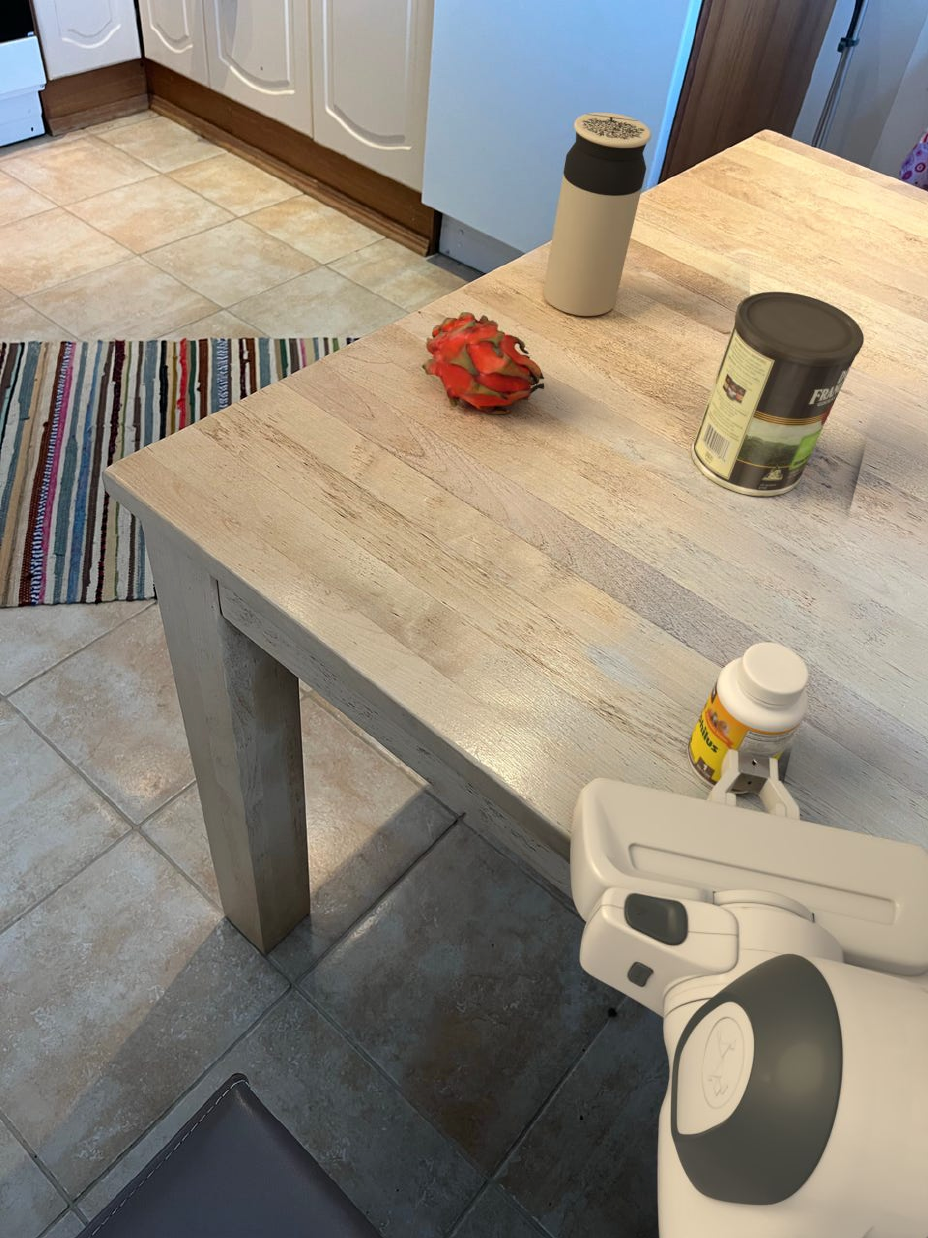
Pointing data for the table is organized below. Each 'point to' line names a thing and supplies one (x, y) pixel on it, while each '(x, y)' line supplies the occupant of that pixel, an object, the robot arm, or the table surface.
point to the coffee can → (774, 391)
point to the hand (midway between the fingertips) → (749, 759)
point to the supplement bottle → (750, 709)
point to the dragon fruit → (481, 364)
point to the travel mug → (596, 213)
